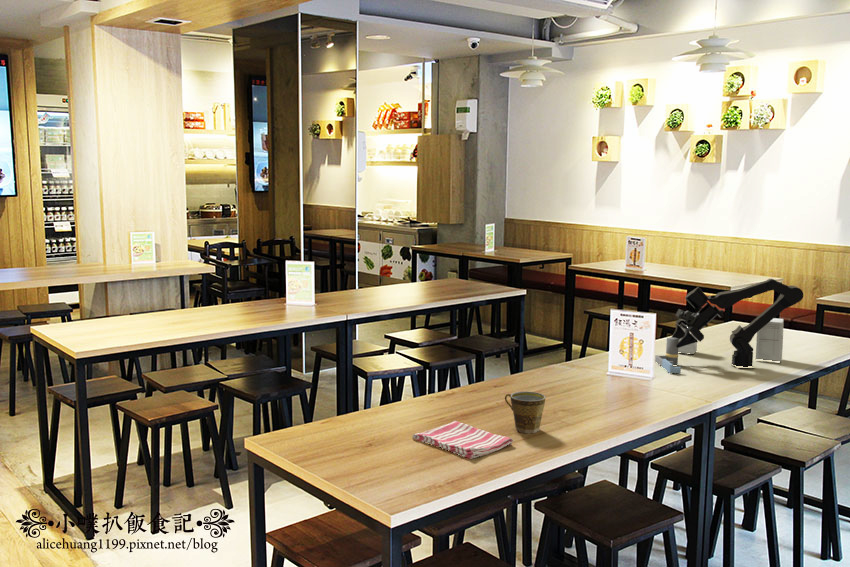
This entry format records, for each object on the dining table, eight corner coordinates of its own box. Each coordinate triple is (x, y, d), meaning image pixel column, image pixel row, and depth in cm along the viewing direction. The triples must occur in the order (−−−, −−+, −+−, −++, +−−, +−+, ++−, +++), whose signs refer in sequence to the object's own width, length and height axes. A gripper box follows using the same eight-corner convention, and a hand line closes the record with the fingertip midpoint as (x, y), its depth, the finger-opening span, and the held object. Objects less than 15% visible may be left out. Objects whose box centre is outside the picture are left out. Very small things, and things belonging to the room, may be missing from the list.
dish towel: (471, 463, 195) (471, 449, 194) (410, 440, 211) (410, 428, 211) (514, 447, 206) (515, 434, 206) (453, 427, 223) (453, 415, 223)
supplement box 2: (782, 359, 308) (784, 318, 306) (780, 364, 300) (783, 322, 298) (756, 356, 313) (759, 316, 311) (754, 361, 305) (757, 320, 302)
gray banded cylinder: (675, 363, 301) (677, 337, 300) (679, 366, 296) (680, 339, 295) (663, 363, 301) (665, 337, 300) (667, 366, 296) (668, 339, 295)
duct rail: (665, 361, 304) (665, 353, 303) (680, 374, 284) (680, 364, 284) (655, 361, 304) (655, 352, 304) (669, 373, 284) (670, 364, 284)
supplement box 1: (697, 352, 321) (698, 322, 320) (693, 355, 315) (694, 325, 313) (679, 350, 325) (680, 321, 324) (674, 353, 319) (676, 323, 317)
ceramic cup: (551, 429, 220) (552, 395, 218) (531, 437, 212) (532, 403, 211) (514, 420, 228) (515, 387, 227) (494, 427, 221) (495, 394, 219)
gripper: (682, 298, 305) (653, 325, 306) (697, 306, 286) (666, 334, 288) (700, 318, 305) (671, 345, 307) (717, 327, 287) (686, 355, 289)
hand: (673, 344), depth 298 cm, fingers open, 9 cm apart
